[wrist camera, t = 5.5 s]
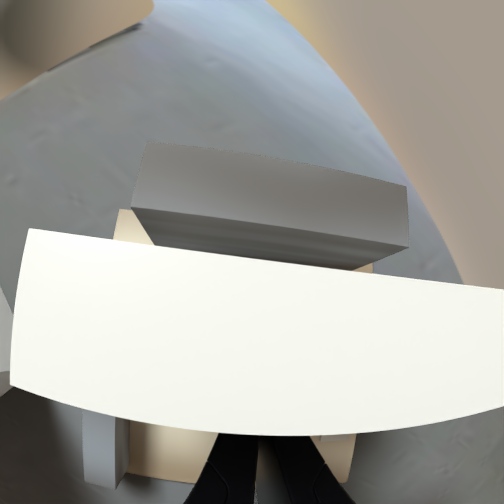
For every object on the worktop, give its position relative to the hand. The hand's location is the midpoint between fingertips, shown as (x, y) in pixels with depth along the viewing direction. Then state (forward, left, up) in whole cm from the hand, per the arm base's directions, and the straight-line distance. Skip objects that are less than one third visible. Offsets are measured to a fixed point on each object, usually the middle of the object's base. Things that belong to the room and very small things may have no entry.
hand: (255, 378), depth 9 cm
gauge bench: (0, 0, -7) cm, 7 cm away
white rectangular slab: (+1, -1, -6) cm, 6 cm away
